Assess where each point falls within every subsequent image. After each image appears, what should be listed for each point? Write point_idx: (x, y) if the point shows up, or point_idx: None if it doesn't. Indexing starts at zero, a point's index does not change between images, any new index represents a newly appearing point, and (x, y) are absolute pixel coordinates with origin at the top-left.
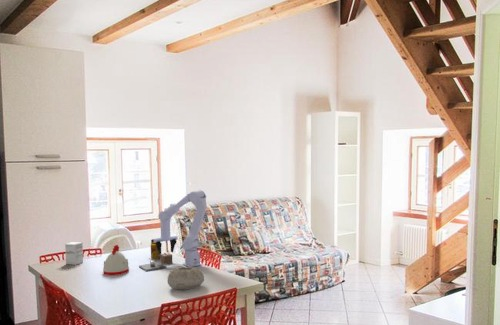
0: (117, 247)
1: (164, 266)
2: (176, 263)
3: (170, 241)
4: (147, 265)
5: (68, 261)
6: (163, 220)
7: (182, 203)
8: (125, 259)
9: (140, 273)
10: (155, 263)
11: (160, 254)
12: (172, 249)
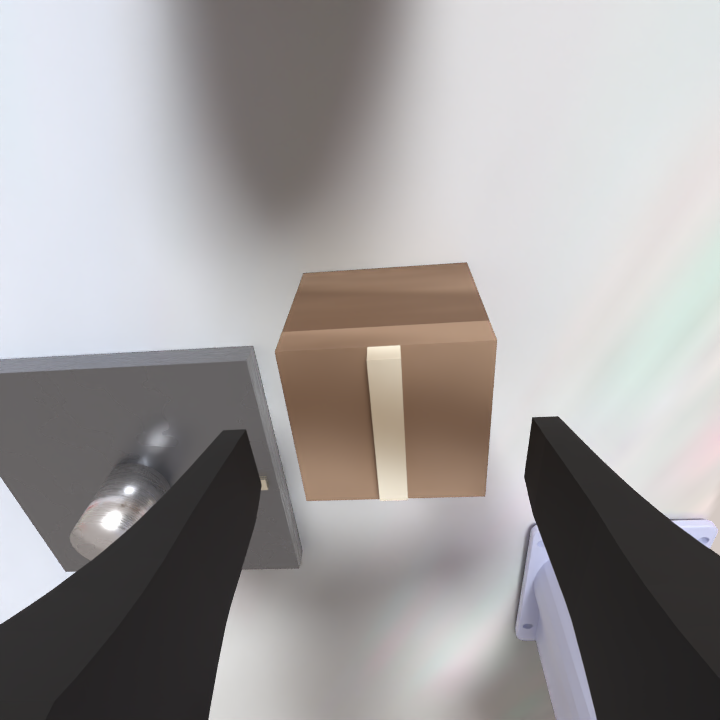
0: None
1: (277, 567)
2: (493, 450)
3: (688, 699)
4: (67, 440)
5: None
6: None
7: None
8: None
9: (22, 578)
10: (188, 400)
11: (276, 354)
12: (545, 548)
